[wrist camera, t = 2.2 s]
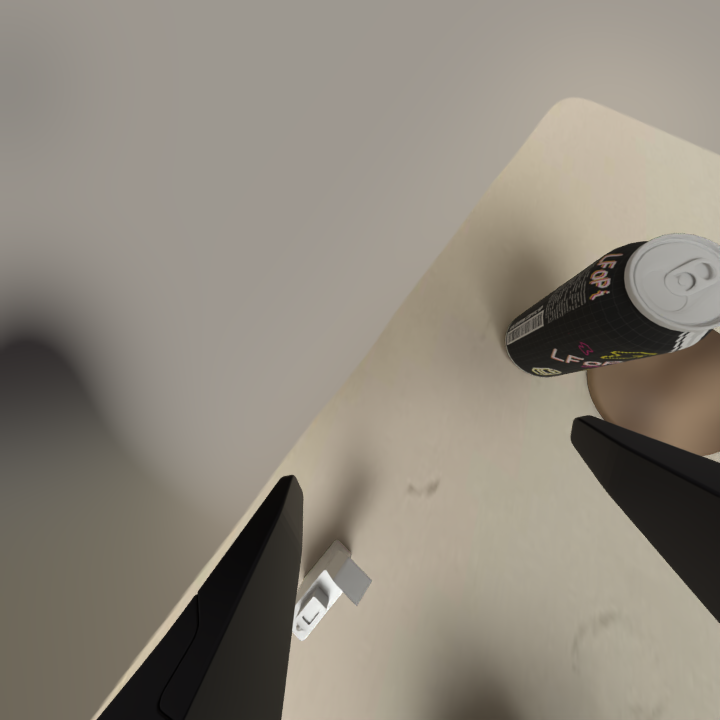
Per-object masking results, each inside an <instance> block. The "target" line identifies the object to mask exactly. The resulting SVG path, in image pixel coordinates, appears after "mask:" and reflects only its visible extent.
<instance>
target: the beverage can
mask: <svg viewBox="0 0 720 720" xmlns="http://www.w3.org/2000/svg"><path fill="white" fill-rule="evenodd" d="M719 326H720V245H718V244H717V243H715V242H713V241H711V240H708V239H706V238H703V237H700V236H697V235H692V234H685V233H673V234H667V235H662V236H659V237H657V238H654V239H652V240H650V241H643V242H636V243H631V244H628V245H625V246H622V247H619V248H617V249H614V250H612V251H611V252H609V253H607V254H606V255H604V256H603V257H601V258H600V259H598V260H597V261H596V262H594V263H593V264H591V265H590V266H588V267H587V268H586V269H584V270H583V271H581V272H580V273H579V274H577V275H576V276H574V277H573V278H572V279H570V280H569V281H567V282H566V283H565V284H563V285H562V286H560V287H559V288H557V289H556V290H555V291H553V292H552V293H550V294H549V295H548V296H546V297H545V298H543V299H542V300H541V301H539V302H538V303H536V304H535V305H533V306H532V307H531V308H529V309H528V310H526V311H525V312H524V313H522V314H521V315H519V316H518V317H517V318H516V319H515V320H514V321H512V323H511V324H510V326H509V327H508V330H507V332H506V337H505V346H506V350H507V353H508V355H509V357H510V359H511V360H512V361H513V363H514V364H515V365H516V366H517V367H518V368H519V369H521V370H523V371H524V372H526V373H528V374H530V375H533V376H538V377H553V376H558V375H563V374H568V373H573V372H578V371H583V370H588V369H593V368H597V367H602V366H607V365H612V364H617V363H622V362H627V361H632V360H637V359H641V358H646V357H651V356H656V355H661V354H666V353H671V352H676V351H678V350H681V349H684V348H687V347H690V346H692V345H694V344H695V343H697V342H699V341H700V340H702V339H703V338H705V337H706V336H707V335H708V334H709V333H710V332H711V331H712V330H713V329H714V328H716V327H719Z"/></svg>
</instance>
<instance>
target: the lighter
mask: <svg viewBox="0 0 720 720" xmlns="http://www.w3.org/2000/svg"><path fill="white" fill-rule="evenodd" d="M371 582H372V580H371V579H370V578H369V577H368V576H367V575H366V574H365V573H364V572H363V571H362V570H361V569H360V568H359V567H358V566H357V565H356V564H355V562H354V561H353V560H352V559H351V552H350V551H349V550H348V549H347V548H346V547H345V546H344V545H343V544H342V543H341V542H340V541H339V540H335V541H334V542H333V544H332V545H331V546H330V547H329V548H328V550H327V551H326V552H325V553H324V555H323V556H322V557H321V558H320V559H319V561H318V562H317V563H316V564H315V566H314V567H313V568H312V569H311V570H310V572H309V573H308V574H307V575H306V577H305V578H304V579H303V582H302V584H301V586H300V588H299V590H298V592H297V595H296V603H295V611H294V620H293V628H292V632H293V633H294V634H295V635H296V636H297V638H298V639H299V640H300V641H304V640H305V639H306V637H307V636H308V635H309V634H310V632H311V631H312V630H313V629H314V627H315V626H316V625H317V624H318V622H319V621H320V620H321V619H322V617H323V616H324V615H325V614H326V612H327V611H328V610H329V609H330V607H331V606H332V605H333V604H334V602H335V601H336V600H337V599H338V597H339V596H340V595H341V594H342V592H344V593H345V594H346V595H347V597H348V598H349V599H350V600H351V601H352V602H353V603H354V604H355V605H356V606H357V605H358V603H359V602H360V600H361V598H362V597H363V595H364V593H365V592H366V590H367V588H368V587H369V585H370V583H371Z"/></svg>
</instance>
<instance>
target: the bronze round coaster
mask: <svg viewBox="0 0 720 720" xmlns="http://www.w3.org/2000/svg"><path fill="white" fill-rule="evenodd" d="M587 380H588V387H589V391H590V394H591V397H592V400H593V402H594V404H595V406H596V408H597V410H598V411H599V413H600V414H601V416H602V417H603V419H604V420H605V421H607V422H610V423H613V424H615V425H618V426H621V427H624V428H626V429H629V430H632V431H634V432H637V433H640V434H643V435H645V436H648V437H651V438H653V439H656V440H659V441H662V442H664V443H667V444H670V445H673V446H675V447H678V448H681V449H683V450H686V451H689V452H692V453H694V454H697V455H700V456H705V455H710V454H713V453H716V452H720V334H719V333H718V332H716V331H715V330H712V331H711V332H710V333H709V334H708V335H707V336H706V337H705V338H703V339H702V340H700V341H699V342H697V343H695V344H694V345H692V346H690V347H687V348H684V349H681V350H678V351H676V352H671V353H666V354H661V355H656V356H651V357H646V358H641V359H637V360H632V361H627V362H622V363H617V364H612V365H607V366H602V367H597V368H593V369H588V370H587Z"/></svg>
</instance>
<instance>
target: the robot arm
mask: <svg viewBox="0 0 720 720" xmlns="http://www.w3.org/2000/svg"><path fill="white" fill-rule="evenodd" d="M570 438H571V442H572V444H573V446H574V447H575V449H576V450H577V451H578V453H579V454H580V456H581V457H582V458H583V460H584V461H585V463H586V464H587V465H588V467H589V468H590V470H591V471H592V472H593V474H594V475H595V477H596V478H597V479H598V481H599V482H600V484H601V485H602V486H603V488H604V489H605V490H606V492H607V493H608V494H609V495H610V496H611V498H612V499H613V500H614V501H615V502H616V503H617V505H618V506H619V507H620V508H621V509H622V510H623V512H624V513H625V514H626V515H627V516H628V517H629V519H630V520H631V521H632V522H633V523H634V524H635V526H636V527H637V528H638V529H639V530H640V531H641V533H642V534H643V535H644V536H645V537H646V538H647V540H648V541H649V542H650V543H651V544H652V545H653V546H654V548H655V549H656V550H657V551H658V552H659V553H660V555H661V556H662V557H663V558H664V559H665V560H666V562H667V563H668V564H669V565H670V566H671V567H672V569H673V570H674V571H675V572H676V573H677V574H678V576H679V577H680V578H681V579H682V580H683V581H684V583H685V584H686V585H687V586H688V587H689V588H690V590H691V591H692V592H693V593H694V594H695V595H696V596H697V598H698V599H699V600H700V601H701V602H702V603H703V605H704V606H705V607H706V608H707V609H708V610H709V612H710V613H711V614H712V615H713V616H714V617H715V619H716V620H717V621H718V622H719V623H720V463H719V462H716V461H713V460H711V459H708V458H705V457H703V456H700V455H697V454H694V453H692V452H689V451H686V450H683V449H681V448H678V447H675V446H673V445H670V444H667V443H664V442H662V441H659V440H656V439H653V438H651V437H648V436H645V435H643V434H640V433H637V432H634V431H632V430H629V429H626V428H624V427H621V426H618V425H615V424H613V423H610V422H607V421H604V420H602V419H599V418H596V417H594V416H590V415H587V416H582V417H577V418H575V419H574V420H573V425H572V431H571V437H570ZM302 536H303V492H302V489H301V487H300V485H299V483H298V481H297V479H296V477H295V476H294V475H289V476H284V477H282V478H280V480H279V481H278V482H277V484H276V485H275V487H274V488H273V489H272V491H271V492H270V493H269V495H268V496H267V497H266V499H265V500H264V502H263V503H262V504H261V506H260V507H259V508H258V510H257V511H256V513H255V514H254V515H253V517H252V518H251V519H250V521H249V522H248V523H247V525H246V526H245V528H244V529H243V530H242V532H241V533H240V534H239V536H238V537H237V539H236V540H235V541H234V543H233V544H232V545H231V547H230V548H229V550H228V551H227V552H226V554H225V555H224V556H223V558H222V559H221V560H220V562H219V563H218V565H217V566H216V567H215V569H214V570H213V571H212V573H211V574H210V576H209V577H208V578H207V580H206V581H205V582H204V584H203V585H202V586H201V588H200V589H199V591H198V595H195V596H194V597H193V599H192V600H191V601H190V603H189V604H188V605H187V607H186V608H185V610H184V611H183V612H182V614H181V615H180V616H179V618H178V619H177V620H176V622H175V623H174V624H173V626H172V627H171V628H170V630H169V631H168V632H167V634H166V635H165V636H164V637H163V639H162V640H161V641H160V642H159V644H158V645H157V646H156V647H155V649H154V650H153V651H152V652H151V654H150V655H149V656H148V657H147V659H146V660H145V661H144V662H143V664H142V665H141V666H140V667H139V669H138V670H137V671H136V672H135V674H134V675H133V676H132V677H131V678H130V680H129V681H128V682H127V683H126V684H125V686H124V687H123V688H122V689H121V691H120V692H119V693H118V694H117V695H116V697H115V698H114V699H113V700H112V702H111V703H110V704H109V705H108V706H107V708H106V709H105V710H104V711H103V713H102V714H101V715H100V716H99V717H98V719H97V720H281V717H282V709H283V701H284V693H285V685H286V677H287V669H288V660H289V652H290V644H291V636H292V628H293V620H294V611H295V603H296V595H297V587H298V579H299V571H300V563H301V554H302Z"/></svg>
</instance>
